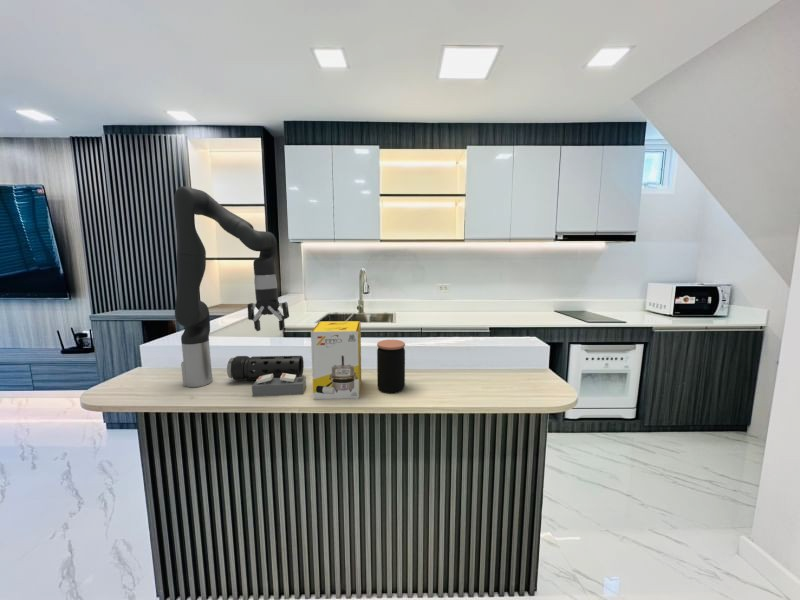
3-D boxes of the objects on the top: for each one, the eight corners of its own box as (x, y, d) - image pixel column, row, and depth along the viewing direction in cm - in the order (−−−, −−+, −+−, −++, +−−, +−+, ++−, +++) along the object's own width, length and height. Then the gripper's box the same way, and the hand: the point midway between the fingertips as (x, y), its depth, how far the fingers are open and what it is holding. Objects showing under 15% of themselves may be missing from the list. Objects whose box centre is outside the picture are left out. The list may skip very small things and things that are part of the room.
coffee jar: (409, 385, 131) (409, 341, 128) (397, 396, 121) (397, 348, 118) (385, 380, 135) (385, 338, 132) (372, 390, 126) (371, 345, 123)
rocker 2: (279, 379, 122) (280, 376, 122) (282, 375, 126) (282, 372, 126) (293, 382, 123) (294, 378, 123) (295, 377, 127) (296, 374, 127)
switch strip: (252, 396, 120) (251, 385, 120) (258, 388, 127) (257, 377, 127) (303, 394, 123) (302, 382, 122) (306, 386, 130) (305, 375, 129)
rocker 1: (257, 383, 121) (256, 380, 121) (260, 379, 125) (259, 376, 125) (270, 380, 122) (270, 377, 122) (273, 376, 126) (272, 373, 126)
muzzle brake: (299, 384, 132) (297, 359, 131) (226, 385, 130) (224, 360, 129) (304, 375, 141) (303, 351, 140) (237, 376, 140) (235, 353, 138)
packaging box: (313, 399, 118) (310, 331, 114) (321, 381, 134) (319, 321, 130) (359, 398, 119) (357, 331, 115) (361, 380, 135) (360, 321, 131)
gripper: (241, 289, 116) (246, 333, 119) (282, 287, 117) (285, 332, 119) (250, 286, 124) (255, 328, 126) (288, 285, 124) (292, 327, 126)
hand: (270, 330), depth 123 cm, fingers open, 8 cm apart
